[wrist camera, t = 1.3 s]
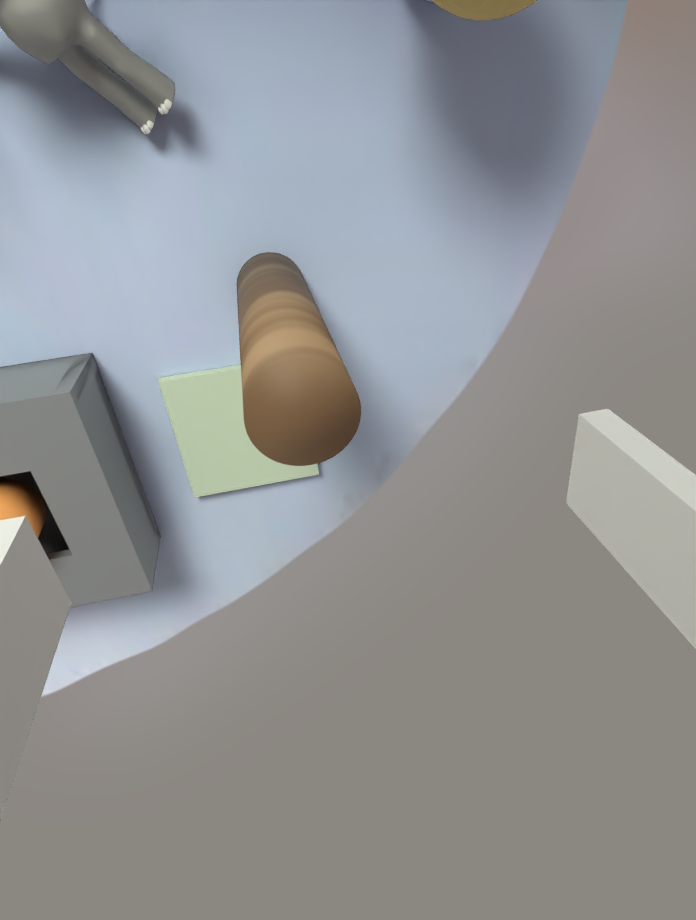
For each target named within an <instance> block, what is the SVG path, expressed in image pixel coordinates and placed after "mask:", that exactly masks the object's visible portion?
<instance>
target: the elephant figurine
mask: <svg viewBox="0 0 696 920" xmlns="http://www.w3.org/2000/svg"><path fill="white" fill-rule="evenodd" d="M0 27H1V28H2V29H3V30H4V32H5V33H6V35H7V36H8V37H9V39H11V40H12V41H13V42H14V43H15V44H16V45H17V46H18V47H19V48H20V49H22V50H23V51H25V52H26V53H28V54H29V55H31V56H33V57H34V58H36V59H38V60H40V61H42V62H44V63H48V64H50V63H52V62H54V61H55V60H56V59H59V60H60V61H61V62H62V63H64V64H65V65H66V67H67V68H68V69H69V71H70V72H71V73H72V74H74V75H75V76H76V77H78V78H79V79H80V80H82V81H83V82H84V83H86V84H87V85H88V86H90V87H91V88H92V89H94V90H95V91H96V92H97V93H99V94H100V95H101V96H103V97H104V98H105V99H107V100H108V101H109V102H111V103H112V104H113V105H114V106H116V107H117V108H118V109H119V110H120V111H121V112H123V113H124V114H125V115H126V116H127V117H128V118H129V119H131V120H132V121H133V122H134V123H135V124H136V125H137V126H139V127H140V128H141V131H142V132H143V133H144V134H145V135H146V134H149V133H150V132H151V129H152V128H153V126H154V123H155V119H156V115H157V108H158V110H159V112H160V113H161V114H167V113H168V111H169V109H170V108H171V106H172V103H173V99H174V95H175V83H174V82H173V81H172V80H170V79H169V78H168V77H167V76H166V75H164V74H163V73H162V72H160V71H159V70H158V69H156V68H155V67H153V66H152V65H150V64H149V63H147V62H146V61H144V60H143V59H141V58H140V57H139V56H137V55H136V54H134V53H133V52H132V51H130V50H129V49H128V48H127V47H126V46H125V45H124V44H123V43H122V42H121V41H120V40H119V39H118V38H117V37H116V36H115V35H114V34H113V33H111V32H110V31H109V30H108V29H107V28H106V27H105V26H104V25H103V24H102V23H100V22H99V21H98V20H97V19H96V18H95V17H94V16H93V15H92V14H91V13H90V11H89V9H88V7H87V5H86V3H85V0H0ZM100 60H101V61H102V62H103V63H104V64H106V65H107V66H108V67H109V68H110V69H112V70H113V71H114V72H115V73H116V74H118V75H119V76H120V77H122V78H123V79H124V80H125V81H124V80H123V79H122V78H120V77H119V76H117V75H116V74H114V73H113V72H112V71H111V70H110V69H109V68H108V67H106V66H105V65H104V64H103V63H102V62H101V61H100ZM126 81H127V82H128V83H129V84H128V83H127V82H126ZM131 85H132V86H133V87H132V86H131ZM136 89H137V90H136Z"/></svg>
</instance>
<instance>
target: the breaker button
mask: <svg viewBox="0 0 696 920" xmlns="http://www.w3.org/2000/svg"><path fill="white" fill-rule="evenodd" d="M22 516H26V517H27V519H28V521H29V523H30V525H31V527H32V529H33V531H34V532H35V534H36V536H37V538H38V537H39V534H40V532H41V530H42V528H43V526H44V523H45V521H46V518H47V506H46V503H45V501H44V499H43V498H42V496H41V495H40V494H39V493H38V492H37V491H36V490H35V489H33V488H32V487H31V486H29V485H27V484H25V483H23V482H21V481H18V480H15V479H11V478H3V477H0V520H5V519H11V518H16V517H22Z"/></svg>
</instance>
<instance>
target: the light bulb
mask: <svg viewBox="0 0 696 920" xmlns="http://www.w3.org/2000/svg"><path fill="white" fill-rule="evenodd" d="M428 1H433V2H434V3H435V4H436V5H437V6H439V7H441V8H442V9H444V10H446V11H447V12H449V13H451V14H453V15H456V16H458V17H461V18H464V19H471V20H478V21H482V20H492V19H500V18H504V17H507V16H510V15H513V14H515V13H517V12H519V11H521V10H523V9H525V8H527V7H528V6H530V5H532V4H533V3H535V2H536V1H537V0H428Z"/></svg>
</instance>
